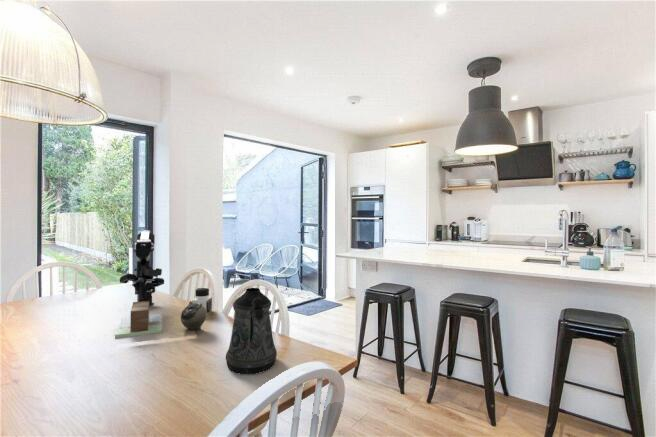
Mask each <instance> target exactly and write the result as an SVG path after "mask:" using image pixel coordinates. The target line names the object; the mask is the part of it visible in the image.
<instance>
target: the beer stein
mask: <svg viewBox="0 0 656 437" xmlns="http://www.w3.org/2000/svg"><path fill="white" fill-rule="evenodd" d="M271 306H272V301H271V300H270V298H269V297H267V296H266V295H265V294H264V293H263V292H261V290H260V288H259V287H248V288H246V289H245V292H244V293H242V295H240V296H239V297H237V298H236V299H235V300H234V301H233V302H232V308H233V311H234V316H233V317H234V318H233V323H232V330H231V336H230V342H229V346H228V349H227V351H226V354H225V361H226V366H228V367H227V368H228V370H229V371H230V370H231V371H230V372H232V371H233V372H232V373H234V372H235V373H234V374H238V373H240V374H239V375H243V374H247V375H257V374H256V373H258V374H260V373H259V372H262V373H264V372H263V371H265V372H267V371H269V370H271V369H272V368H273V367H274V366H275V363H276V359H277V355H278V354H277V352H278V351H277V348H276V345H275V341H274V337H273V331H272V323H271V315H270V309H271V308H272V307H271ZM273 365H274V366H273ZM272 366H273V367H272ZM271 367H272V368H271ZM270 368H271V369H270ZM268 369H269V370H268ZM266 370H267V371H266Z"/></svg>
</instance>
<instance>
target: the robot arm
mask: <svg viewBox="0 0 656 437" xmlns="http://www.w3.org/2000/svg"><path fill="white" fill-rule="evenodd" d="M155 243H156V242H155V234H154V233H152V231H151V230H149V229H148V230H140V232H139V233H138V234H137V235H136V243H134V246H133V247H134V248H133V252H134V253H135V257H136V267H135V268H134V272H136V274H134V273H125V274H124V275H121V276H120V277H119V283H120V284H127V283H129V281H130V282H133V284H131V286H132V287H133V288H134V295H137V296H136V297H137V299H136V300H137V301H136V302H142V301H149V306H152V305H154V304H155V302H153V294H154V293H156V287H157V288H158V287H161V286H163V285H164V284H165V279H164V278H162V277H161V275H162V274H163V273H162V272H163V269H162V268H155V269H153V267H152V266H151V253H153V252H154V251H155ZM158 276H159V277H158ZM154 277H155V278H154Z"/></svg>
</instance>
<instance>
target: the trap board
mask: <svg viewBox="0 0 656 437" xmlns="http://www.w3.org/2000/svg"><path fill="white" fill-rule="evenodd" d="M153 322H158V324H152V325H151V323H153ZM125 325H131V316H130V317H129V316H128V317H121V319H120V322H119V325H118V327H117V331H116V333H115V334H114V338H115V339H120V338H127V337H136V336H145V335H153V334H160V333H161V334H162V333H163V314H162V313H158V314H157V313H156V314H149V327H148V331H140V332H132V333H130V330H131V327H127V328H126V327H124V328H122V327H123V326H125Z"/></svg>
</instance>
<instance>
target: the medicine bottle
mask: <svg viewBox="0 0 656 437" xmlns="http://www.w3.org/2000/svg"><path fill="white" fill-rule="evenodd" d="M191 302H192V303H199V304H202V305H203V306H204V307H205V308H206V310H207V315H209V314H210V313H211V312H212V310H213V309H212V308H213V297H212V296H210V289H209V288H207V287H198V288H196V289H195V298H193V299H192V300H191Z"/></svg>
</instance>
